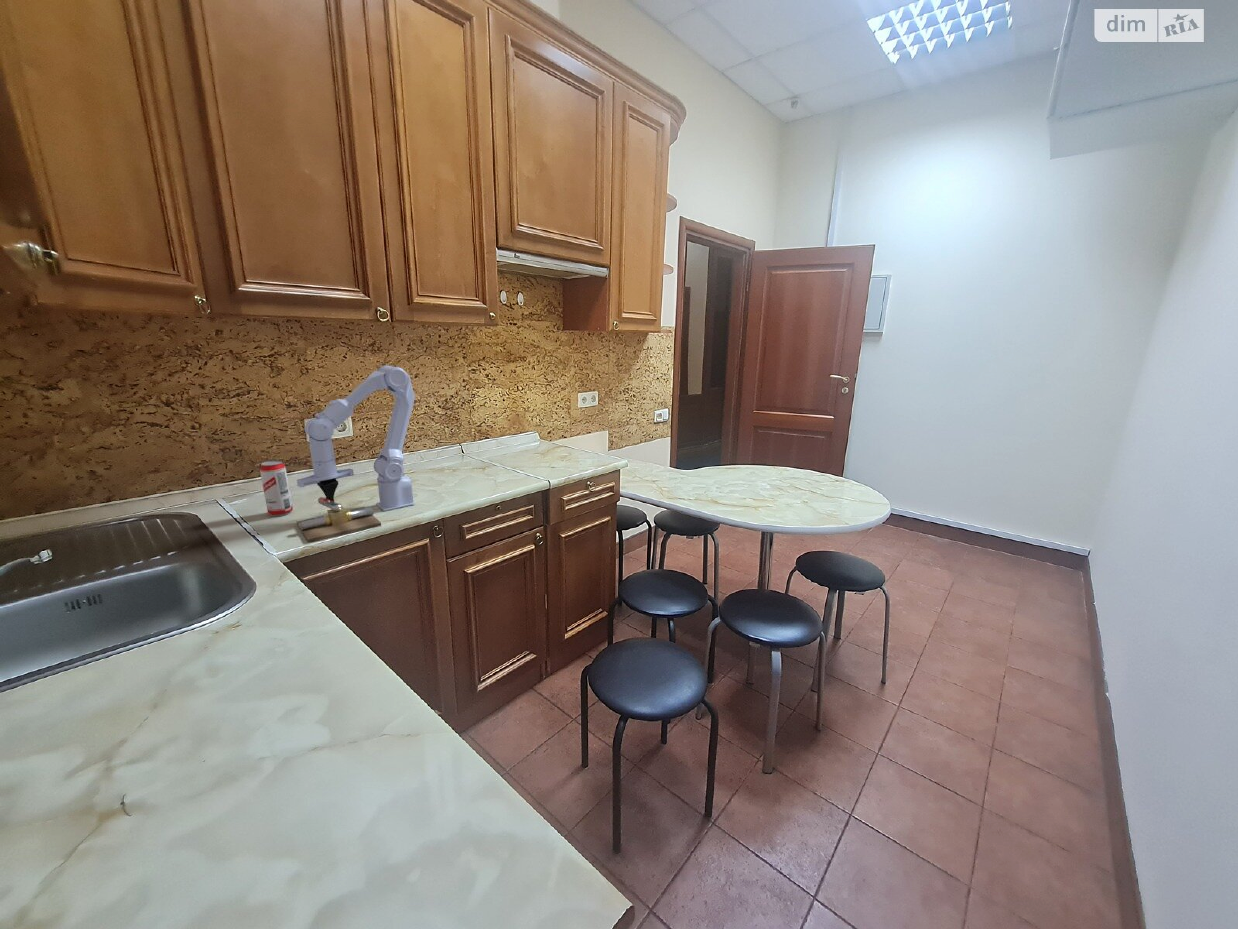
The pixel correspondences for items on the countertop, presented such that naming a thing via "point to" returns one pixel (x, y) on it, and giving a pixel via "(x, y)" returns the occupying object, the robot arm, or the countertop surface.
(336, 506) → the valve lever
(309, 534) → the walnut board
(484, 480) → the countertop surface
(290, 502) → the beer can
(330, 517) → the valve body
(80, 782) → the countertop surface
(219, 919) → the countertop surface
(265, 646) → the countertop surface
